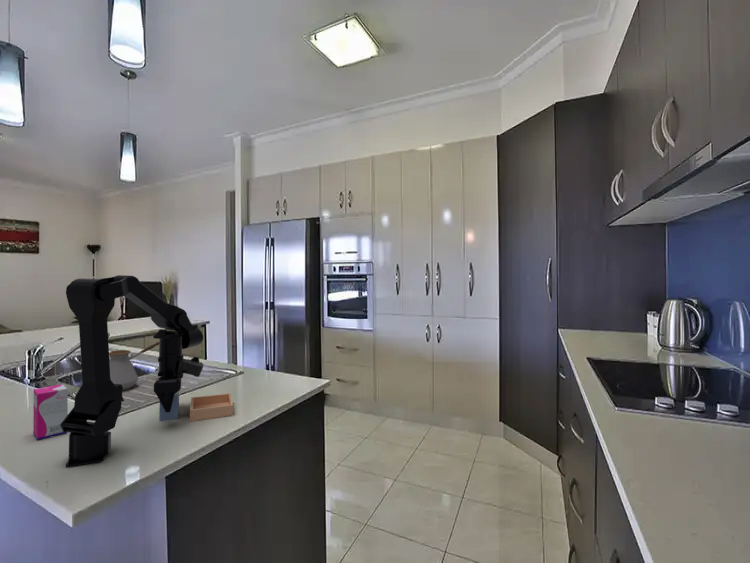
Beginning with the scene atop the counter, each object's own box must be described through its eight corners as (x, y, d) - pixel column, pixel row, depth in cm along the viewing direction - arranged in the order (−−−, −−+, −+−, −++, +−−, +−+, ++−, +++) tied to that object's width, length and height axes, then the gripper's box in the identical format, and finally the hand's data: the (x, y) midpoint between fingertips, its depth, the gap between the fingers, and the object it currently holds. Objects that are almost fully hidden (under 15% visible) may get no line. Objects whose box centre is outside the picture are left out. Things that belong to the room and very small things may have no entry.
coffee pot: (107, 396, 116) (108, 350, 116) (91, 389, 122) (92, 346, 122) (172, 380, 135) (173, 341, 134) (156, 375, 141) (157, 338, 140)
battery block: (159, 421, 98) (159, 392, 98) (161, 415, 102) (161, 387, 102) (177, 418, 100) (178, 390, 100) (178, 413, 104) (179, 386, 104)
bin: (189, 421, 99) (190, 410, 99) (191, 407, 109) (191, 397, 109) (232, 415, 104) (233, 405, 103) (230, 402, 114) (230, 393, 114)
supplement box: (62, 426, 93) (63, 383, 93) (67, 433, 89) (68, 388, 89) (32, 433, 89) (33, 388, 89) (36, 441, 85) (37, 393, 85)
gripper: (201, 357, 96) (200, 414, 96) (202, 344, 113) (201, 393, 113) (154, 360, 91) (152, 420, 92) (161, 346, 108) (160, 397, 108)
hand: (169, 406), depth 101 cm, fingers open, 9 cm apart
